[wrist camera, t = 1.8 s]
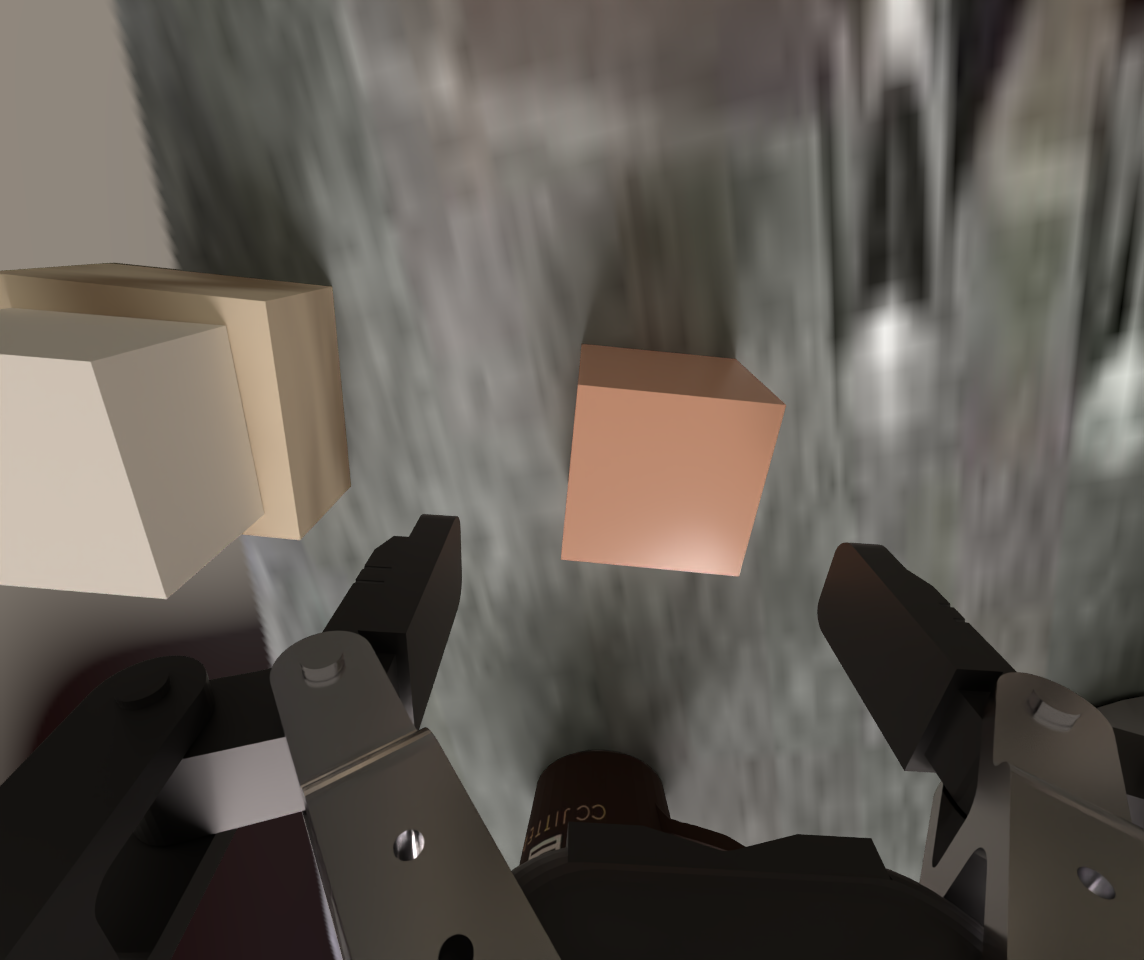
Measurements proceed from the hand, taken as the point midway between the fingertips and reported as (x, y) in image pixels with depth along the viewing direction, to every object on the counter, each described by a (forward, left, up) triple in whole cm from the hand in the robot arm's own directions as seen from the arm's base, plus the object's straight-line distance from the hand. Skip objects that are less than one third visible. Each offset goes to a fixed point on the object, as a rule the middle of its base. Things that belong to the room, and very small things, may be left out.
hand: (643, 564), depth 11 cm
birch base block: (+13, 0, -8) cm, 16 cm away
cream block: (+14, 0, -4) cm, 14 cm away
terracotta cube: (-1, 0, -8) cm, 8 cm away
